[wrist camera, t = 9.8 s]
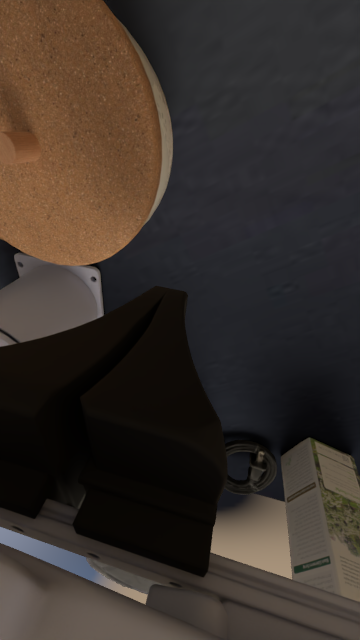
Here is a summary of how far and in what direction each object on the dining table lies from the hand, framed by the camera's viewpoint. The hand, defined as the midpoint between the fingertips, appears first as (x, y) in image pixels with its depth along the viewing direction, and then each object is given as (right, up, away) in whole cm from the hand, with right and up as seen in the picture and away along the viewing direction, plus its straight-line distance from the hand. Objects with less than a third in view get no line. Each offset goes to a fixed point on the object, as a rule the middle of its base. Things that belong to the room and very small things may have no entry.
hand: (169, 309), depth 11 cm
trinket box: (-4, +11, +6) cm, 14 cm away
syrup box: (+16, -16, +20) cm, 30 cm away
